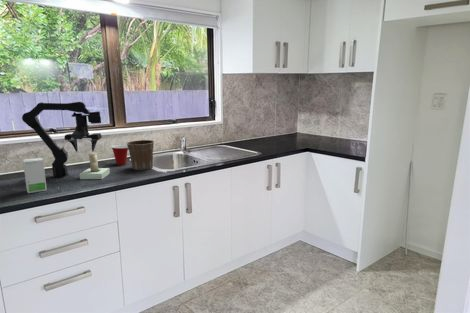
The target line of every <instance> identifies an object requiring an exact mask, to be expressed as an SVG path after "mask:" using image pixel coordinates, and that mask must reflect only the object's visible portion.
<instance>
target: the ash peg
mask: <svg viewBox="0 0 470 313" xmlns="http://www.w3.org/2000/svg"><path fill="white" fill-rule="evenodd" d="M88 156H89V168H91V172H98V171H99V169H98V168H99V162H98V153H97V152H90V153H88Z"/></svg>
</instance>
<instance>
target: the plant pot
mask: <svg viewBox="0 0 470 313" xmlns="http://www.w3.org/2000/svg"><path fill="white" fill-rule="evenodd" d="M154 143H155V141H154V140H151V139H140V140H132V141H128V142H126V146H128V152H129V156H130V164H131V168H132V169H133V170H135V171H144V170H150V169H152V168H153V166H154V160H153V159H154Z"/></svg>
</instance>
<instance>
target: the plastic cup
mask: <svg viewBox="0 0 470 313" xmlns="http://www.w3.org/2000/svg"><path fill="white" fill-rule="evenodd" d="M111 149H112V153H113V157H114V160H115V162H116V166H122V165H124V166H125V165H126V164H127V158H128V152H129V150H128V146H127V144H126V145H123V144H118V145H116V144H114V145H111Z"/></svg>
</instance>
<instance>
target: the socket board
mask: <svg viewBox="0 0 470 313" xmlns="http://www.w3.org/2000/svg"><path fill="white" fill-rule="evenodd" d="M98 169H99V171H98V172H91V168H90V167H89V168H87V169H85V170H84V171H82V172H80V173H79V180H103V179H104V178H105V177H107V176H108V175H110V174H111V171H110V167H106V168H105V167H104V168H103V167H98Z"/></svg>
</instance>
